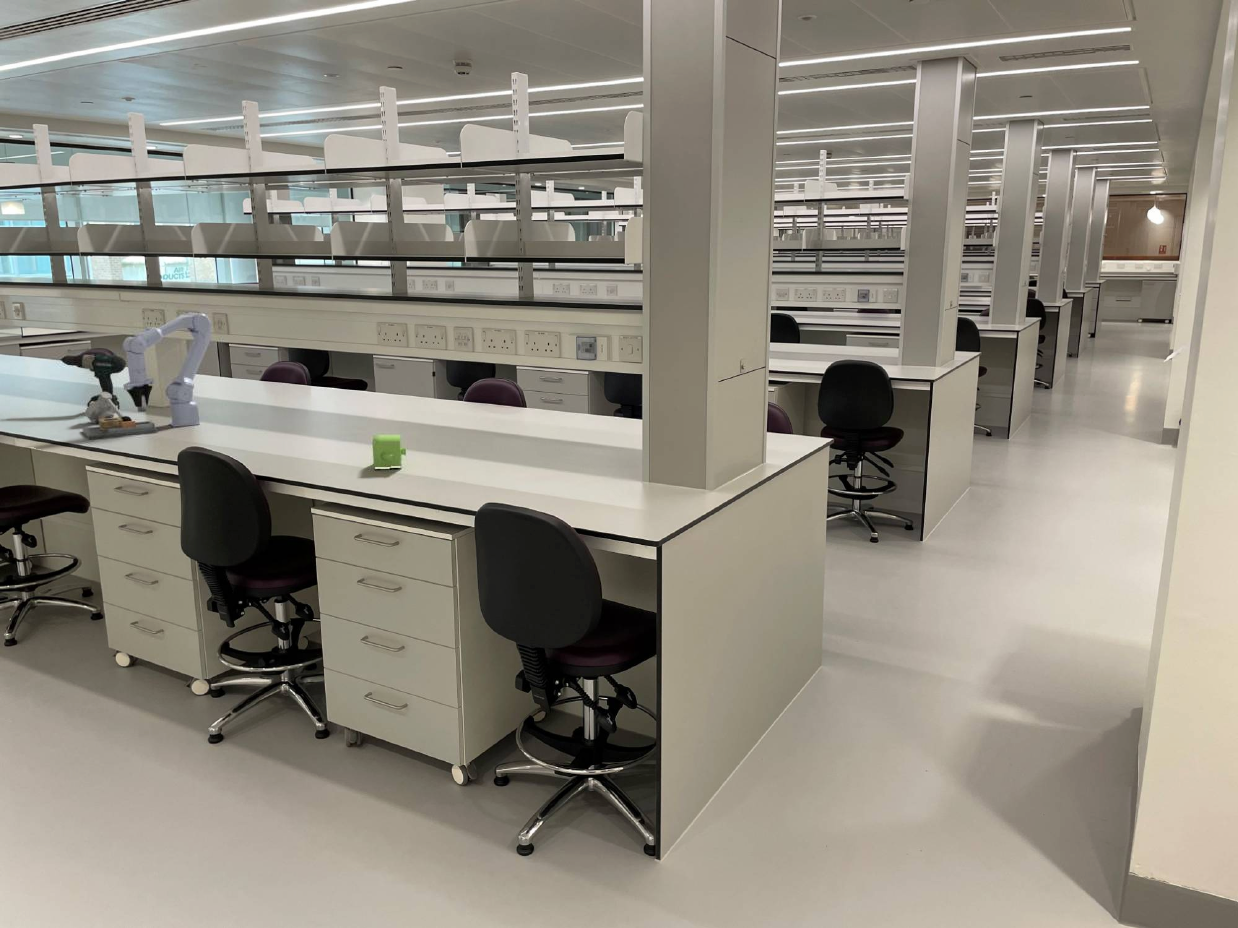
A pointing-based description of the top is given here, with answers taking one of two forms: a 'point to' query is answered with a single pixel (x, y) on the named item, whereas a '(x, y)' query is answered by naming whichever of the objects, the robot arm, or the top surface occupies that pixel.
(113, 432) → the slate board
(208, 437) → the top surface
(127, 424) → the orange rectangular block
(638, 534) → the top surface
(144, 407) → the cylinder
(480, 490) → the top surface
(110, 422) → the frame
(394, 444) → the gearbox
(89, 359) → the power drill
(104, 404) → the mechanical valve
